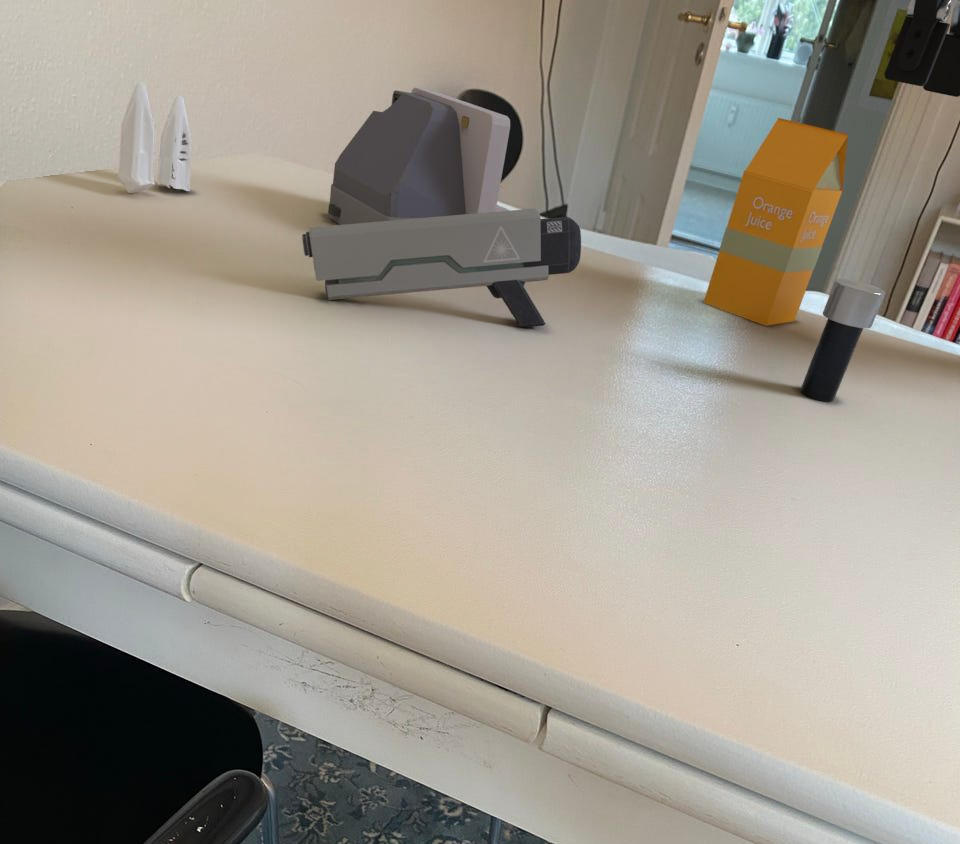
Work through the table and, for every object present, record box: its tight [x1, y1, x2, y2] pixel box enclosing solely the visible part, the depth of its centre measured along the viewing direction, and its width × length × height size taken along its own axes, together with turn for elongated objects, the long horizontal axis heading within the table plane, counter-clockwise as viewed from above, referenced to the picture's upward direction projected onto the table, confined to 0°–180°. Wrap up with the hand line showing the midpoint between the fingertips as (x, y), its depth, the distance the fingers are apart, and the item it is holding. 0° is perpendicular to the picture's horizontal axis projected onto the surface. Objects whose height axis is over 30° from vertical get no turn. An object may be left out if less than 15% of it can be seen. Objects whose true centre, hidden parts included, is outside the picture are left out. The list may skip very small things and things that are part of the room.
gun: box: [301, 208, 582, 328], centre depth 83 cm, size 2×25×10 cm, turn 98°
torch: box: [799, 278, 886, 403], centre depth 82 cm, size 4×4×10 cm
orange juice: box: [702, 117, 849, 327], centre depth 104 cm, size 8×9×20 cm
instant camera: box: [327, 87, 511, 225], centre depth 107 cm, size 21×21×15 cm
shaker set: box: [116, 81, 193, 194], centre depth 103 cm, size 12×4×11 cm, turn 158°
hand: (923, 88), depth 72 cm, fingers open, 9 cm apart
